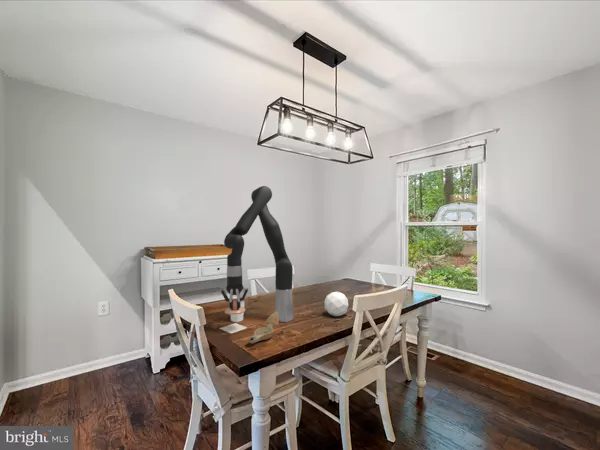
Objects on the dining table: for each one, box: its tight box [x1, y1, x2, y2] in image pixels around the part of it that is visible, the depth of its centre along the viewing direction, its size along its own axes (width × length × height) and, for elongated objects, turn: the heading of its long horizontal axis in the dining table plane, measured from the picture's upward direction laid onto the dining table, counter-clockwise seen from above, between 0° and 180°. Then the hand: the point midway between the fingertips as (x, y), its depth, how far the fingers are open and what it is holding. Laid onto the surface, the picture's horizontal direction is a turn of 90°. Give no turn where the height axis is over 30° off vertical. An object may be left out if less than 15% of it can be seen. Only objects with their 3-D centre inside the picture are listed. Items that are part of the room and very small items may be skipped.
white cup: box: [229, 300, 245, 323], centre depth 152 cm, size 8×8×10 cm
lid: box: [224, 298, 246, 315], centre depth 139 cm, size 10×10×6 cm
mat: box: [218, 322, 248, 334], centre depth 139 cm, size 10×10×1 cm
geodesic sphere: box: [323, 291, 349, 317], centre depth 163 cm, size 15×14×14 cm
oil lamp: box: [247, 310, 279, 344], centre depth 128 cm, size 9×21×10 cm, turn 152°
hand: (235, 309), depth 139 cm, fingers closed on lid, 2 cm apart
